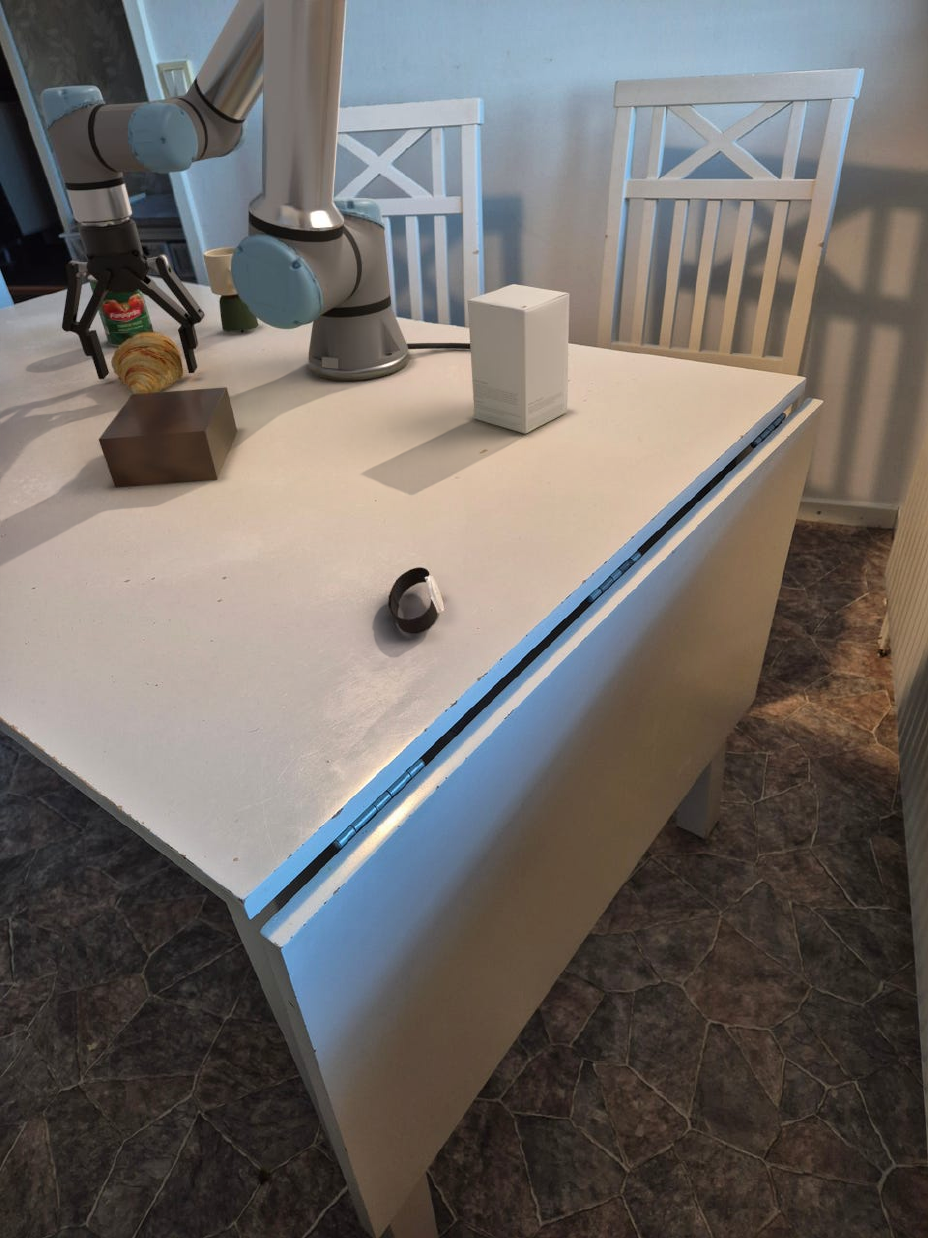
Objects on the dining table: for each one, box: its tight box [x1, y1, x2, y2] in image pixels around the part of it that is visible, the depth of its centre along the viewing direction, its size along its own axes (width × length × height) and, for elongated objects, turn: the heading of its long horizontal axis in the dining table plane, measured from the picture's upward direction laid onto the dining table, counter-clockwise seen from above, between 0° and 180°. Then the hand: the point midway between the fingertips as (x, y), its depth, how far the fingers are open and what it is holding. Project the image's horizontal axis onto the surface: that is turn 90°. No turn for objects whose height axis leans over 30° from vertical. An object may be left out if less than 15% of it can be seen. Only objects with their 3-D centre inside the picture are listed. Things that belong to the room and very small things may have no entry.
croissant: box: [111, 330, 184, 394], centre depth 123 cm, size 21×10×8 cm, turn 11°
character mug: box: [202, 246, 260, 333], centre depth 139 cm, size 11×7×13 cm, turn 22°
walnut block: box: [98, 386, 238, 488], centre depth 98 cm, size 12×14×6 cm
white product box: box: [467, 283, 570, 434], centre depth 100 cm, size 9×9×15 cm
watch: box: [388, 567, 444, 635], centre depth 70 cm, size 8×5×4 cm, turn 5°
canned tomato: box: [87, 274, 154, 348], centre depth 139 cm, size 8×8×11 cm
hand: (148, 373), depth 124 cm, fingers open, 13 cm apart
